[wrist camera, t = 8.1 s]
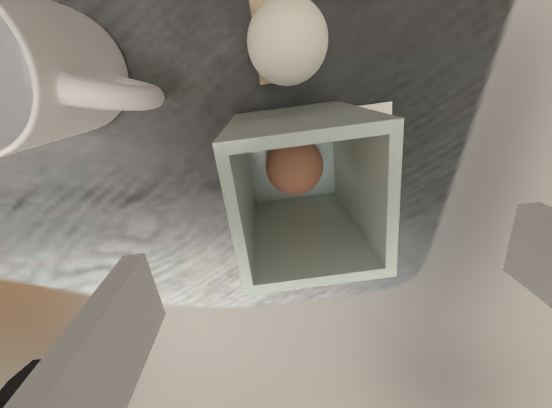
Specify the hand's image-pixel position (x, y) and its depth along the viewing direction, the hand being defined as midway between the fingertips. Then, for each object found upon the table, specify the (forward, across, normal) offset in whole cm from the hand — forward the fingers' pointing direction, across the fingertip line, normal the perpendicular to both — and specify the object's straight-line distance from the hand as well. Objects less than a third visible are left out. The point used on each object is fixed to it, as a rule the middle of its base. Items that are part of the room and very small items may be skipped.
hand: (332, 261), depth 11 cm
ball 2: (+15, 0, 0) cm, 15 cm away
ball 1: (+11, 0, +8) cm, 14 cm away
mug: (+16, -14, +8) cm, 22 cm away
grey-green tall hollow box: (+16, 0, 0) cm, 16 cm away
